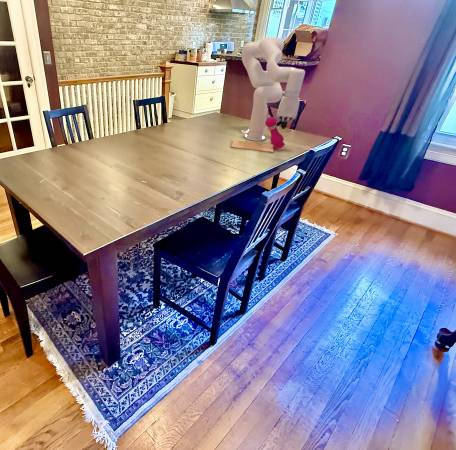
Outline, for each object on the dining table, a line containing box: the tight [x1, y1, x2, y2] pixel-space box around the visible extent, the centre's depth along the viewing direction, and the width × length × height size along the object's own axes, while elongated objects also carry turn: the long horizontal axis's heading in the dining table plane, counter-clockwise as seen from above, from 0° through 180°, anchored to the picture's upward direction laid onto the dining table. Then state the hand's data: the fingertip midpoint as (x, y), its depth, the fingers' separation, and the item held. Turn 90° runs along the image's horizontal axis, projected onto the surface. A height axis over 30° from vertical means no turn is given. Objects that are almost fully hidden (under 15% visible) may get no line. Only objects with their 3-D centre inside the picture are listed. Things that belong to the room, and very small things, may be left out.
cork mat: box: [231, 139, 274, 154], centre depth 185 cm, size 24×14×1 cm, turn 73°
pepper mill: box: [265, 114, 286, 150], centre depth 178 cm, size 7×7×20 cm
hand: (282, 128), depth 176 cm, fingers closed
